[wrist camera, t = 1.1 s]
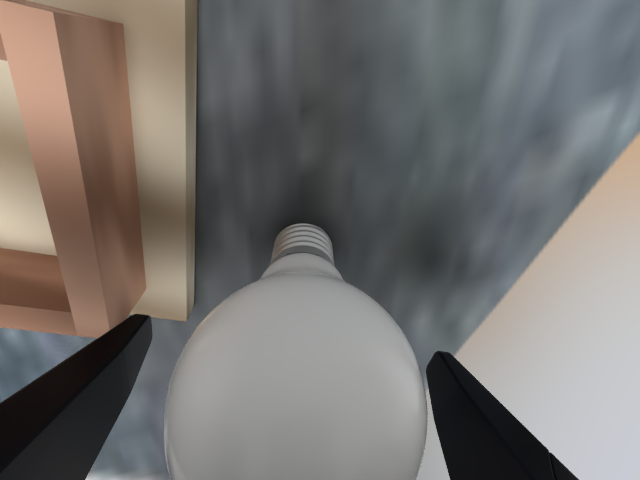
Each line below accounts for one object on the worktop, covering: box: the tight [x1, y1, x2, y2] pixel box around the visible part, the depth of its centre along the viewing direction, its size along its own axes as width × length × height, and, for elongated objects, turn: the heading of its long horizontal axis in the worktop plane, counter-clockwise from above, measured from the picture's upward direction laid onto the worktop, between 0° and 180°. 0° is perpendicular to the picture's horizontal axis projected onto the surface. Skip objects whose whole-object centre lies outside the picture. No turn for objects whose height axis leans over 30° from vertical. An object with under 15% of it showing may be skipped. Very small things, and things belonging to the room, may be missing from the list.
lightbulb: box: [163, 223, 427, 480], centre depth 10 cm, size 6×6×11 cm
